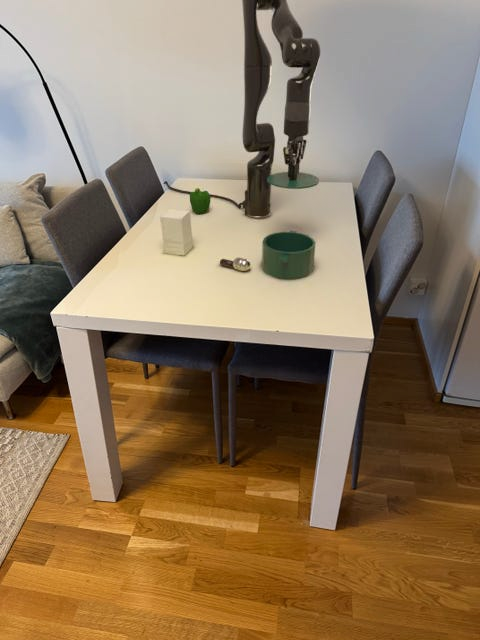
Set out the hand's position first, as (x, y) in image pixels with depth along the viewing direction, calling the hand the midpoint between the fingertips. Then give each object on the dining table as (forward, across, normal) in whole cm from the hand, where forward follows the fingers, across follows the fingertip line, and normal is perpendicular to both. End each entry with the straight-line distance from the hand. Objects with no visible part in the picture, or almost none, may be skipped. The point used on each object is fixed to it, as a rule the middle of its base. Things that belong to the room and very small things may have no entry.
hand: (293, 175), depth 143 cm
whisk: (+22, +27, -6) cm, 36 cm away
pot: (+22, +19, +8) cm, 30 cm away
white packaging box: (+22, +24, -29) cm, 44 cm away
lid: (+2, 0, 0) cm, 2 cm away
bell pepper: (+23, -10, -42) cm, 49 cm away
